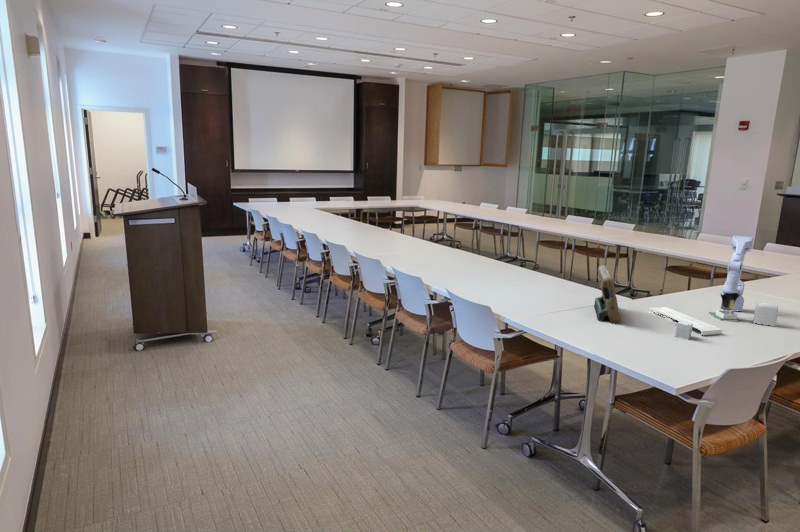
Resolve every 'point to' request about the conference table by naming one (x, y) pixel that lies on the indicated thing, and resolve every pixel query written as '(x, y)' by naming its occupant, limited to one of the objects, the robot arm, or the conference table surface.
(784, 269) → the conference table surface
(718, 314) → the board
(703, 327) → the white keyboard
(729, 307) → the plug
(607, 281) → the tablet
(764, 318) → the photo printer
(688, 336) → the skincare box
